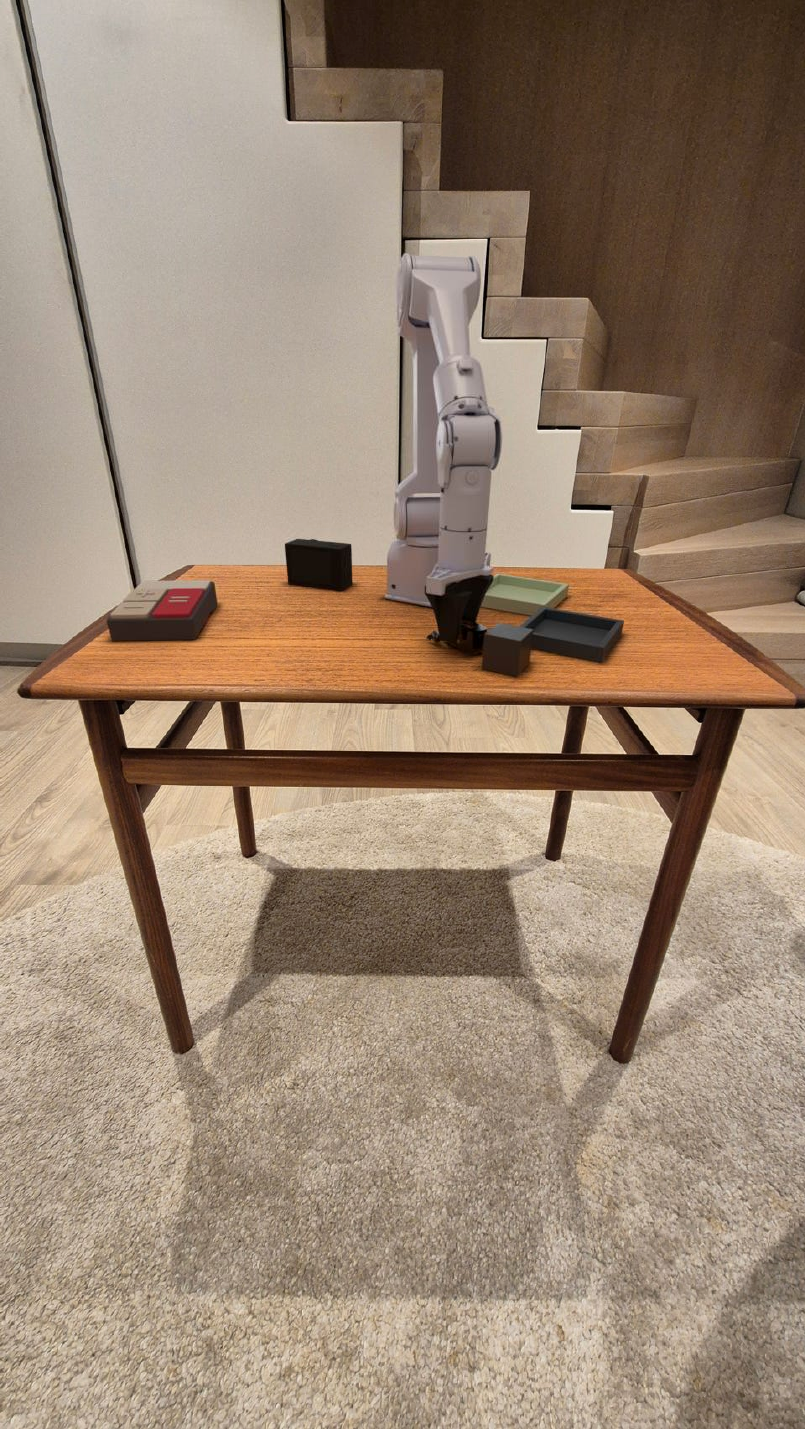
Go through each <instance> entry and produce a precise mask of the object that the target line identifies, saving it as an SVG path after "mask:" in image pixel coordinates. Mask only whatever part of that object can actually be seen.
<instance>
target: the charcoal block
mask: <svg viewBox="0 0 805 1429" xmlns="http://www.w3.org/2000/svg"><path fill="white" fill-rule="evenodd" d="M532 638H533V629H528V628H523V627H519V626H517V625H512V624H506V623H500V622H498V623H496V624H495V625H494V626H492V627H491V628H490V629H488V630H487V632H486V633H485V634H484V644H483V652H482V658H481V670H484V671H490V672H494V673H497V674H501V675H507V676H511V677H516V678H517V677H519V676H520V674H522V672H523V671H524V670H525V669H526V668H527V667H528V666H529V665H530V663H531V662H530V661H531V654H532V648H531V647H532Z"/></svg>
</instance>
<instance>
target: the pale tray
mask: <svg viewBox="0 0 805 1429" xmlns="http://www.w3.org/2000/svg"><path fill="white" fill-rule="evenodd" d="M492 575H493V576H494V578H493V582H492V584H491V585H490V587H489V589H488V590H487V592H486V594H485V596H484V599H483V601H482V604H481V607H482V608H486V609H491V610H498V611H503V612H509V613H513V614H519V615H524V616H529V617H531V616H532V615H533V614H534V613H536V612H537V611H538V610H539V609H540V608H541V607H547V608H553V609H556V607H558V605H559V604H560V603H561V602H563V601H564V599H566V598H567V597H568V595H569V594H568V593H569V588H570V584H569V583H563V582H557V581H550V580H544V579H537V578H532V577H531V578H530V577H522V576H517V575H511V574H503V573H495V574H492ZM481 607H480V608H481Z"/></svg>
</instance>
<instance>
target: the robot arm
mask: <svg viewBox="0 0 805 1429" xmlns="http://www.w3.org/2000/svg"><path fill="white" fill-rule="evenodd" d="M481 273H482V272H481V266H480V263H479V262H478V259H477V257H475V256H474V255H472V256H471V255H470V256H468V257H463V256H462V257H461V256H460V257H459V256H441V255H440V256H437V255H419V254H418V255H417V254H416V255H415V254H410V253H409V252H404V253H403V254H402V256H401V258H400V259H399V261H398V265H397V272H396V325H397V327H398V335H399V336H400V337H402V338H403V339H404V340H406V341H408V342H409V344H410V350H411V357H412V373H413V374H412V375H413V376H412V380H413V381H412V387H413V389H412V391H413V392H412V393H413V394H412V395H413V396H412V397H413V398H412V399H413V401H412V402H413V403H412V404H413V405H412V406H413V407H412V411H413V412H412V413H413V419H412V420H413V421H412V422H413V423H412V424H413V425H412V426H413V427H412V428H413V432H412V433H413V434H412V436H413V439H412V440H413V441H412V442H413V444H412V445H413V453H412V454H413V472H412V473H411V474H410V475H408V476H407V477H406V478H404V479H403V481H400V483H399V484H398V485H397V486H396V489H395V491H394V505H393V529H394V534H395V536H396V538H397V539H395V540H393V541H392V542H391V544H390V546H389V548H388V551H387V556H386V594H385V595H384V599H386V600H392V601H397V602H401V603H408V604H414V605H419V606H425V607H429V608H432V611H433V615H434V618H435V622H436V626H437V632H438V633H439V636H440V640H441V641H442V642H446V643H447V642H450V643H456V642H457V640H458V637H459V633H460V627H461V621H462V616H464V617H466V618H468V619H470V620H472V621H474V622H476V623H477V620H478V617H479V613H480V609H481V604H482V601H483V599H484V596H485V594H486V592H487V590H488V589H489V587H490V585H491V584H492V582H493V578H494V576H493V575H494V574H493V573H494V567H493V566H491V559H492V558H491V557H492V553H491V552H486V549H487V538H488V524H489V523H488V522H489V512H490V509H489V508H490V496H491V483H492V471H495V469H497V467H498V465H499V462H500V458H501V454H502V444H503V431H502V423H501V422H502V421H501V419H500V416H499V414H497V413H496V411H495V408H494V407H493V406H489V403H488V397H487V390H486V385H485V379H484V374H483V368H482V364H481V363H480V362H479V360H477V359H476V358H475V357H474V356H471V345H470V344H471V343H470V328H469V326H470V324H471V321H472V319H473V316H474V314H475V312H476V310H477V309H478V308H477V307H478V305H479V300H480V294H481V288H482V286H481V284H482V274H481ZM416 494H440V496H412V495H416ZM441 641H440V642H441Z"/></svg>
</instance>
